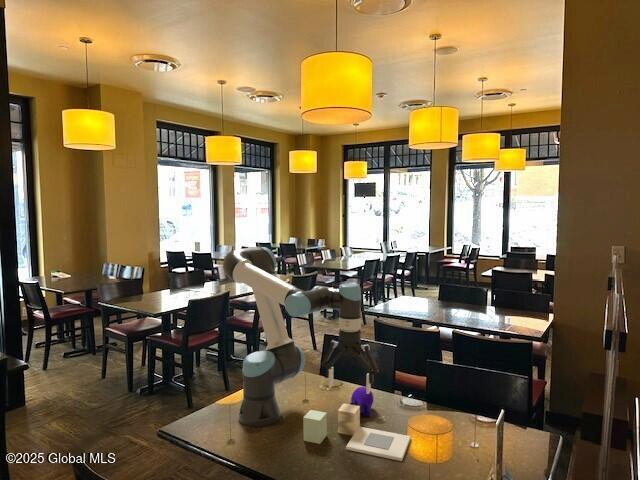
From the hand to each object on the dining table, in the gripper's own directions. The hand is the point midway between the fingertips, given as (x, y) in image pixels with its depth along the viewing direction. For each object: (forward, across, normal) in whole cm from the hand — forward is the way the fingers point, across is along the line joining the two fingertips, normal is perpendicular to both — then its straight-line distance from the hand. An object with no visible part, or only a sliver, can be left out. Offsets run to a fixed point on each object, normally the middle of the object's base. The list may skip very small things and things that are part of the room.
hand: (349, 389), depth 153 cm
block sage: (+15, -9, -9) cm, 20 cm away
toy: (+15, 0, +14) cm, 20 cm away
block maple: (+15, 0, 0) cm, 15 cm away
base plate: (+14, +12, -6) cm, 20 cm away
